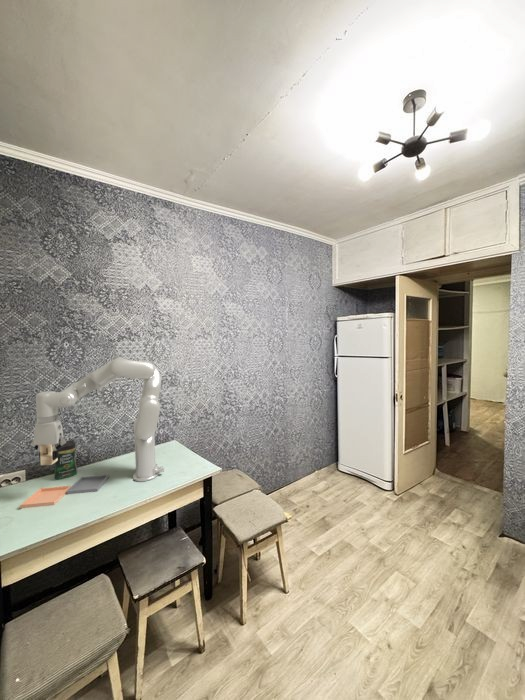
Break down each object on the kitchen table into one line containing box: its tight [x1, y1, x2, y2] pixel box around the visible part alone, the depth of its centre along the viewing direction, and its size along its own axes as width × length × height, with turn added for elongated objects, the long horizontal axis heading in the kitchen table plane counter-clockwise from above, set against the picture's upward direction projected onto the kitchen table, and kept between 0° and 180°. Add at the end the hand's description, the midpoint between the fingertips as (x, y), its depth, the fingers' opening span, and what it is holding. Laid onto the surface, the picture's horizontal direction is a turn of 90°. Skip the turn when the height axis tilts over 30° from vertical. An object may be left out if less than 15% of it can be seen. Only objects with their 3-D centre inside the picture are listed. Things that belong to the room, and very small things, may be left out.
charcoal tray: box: [66, 474, 110, 495], centre depth 134 cm, size 13×13×2 cm
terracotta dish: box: [19, 485, 72, 510], centre depth 124 cm, size 13×13×2 cm
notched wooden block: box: [39, 445, 58, 466], centre depth 124 cm, size 4×5×9 cm
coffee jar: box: [54, 439, 78, 481], centre depth 144 cm, size 10×8×19 cm
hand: (49, 458), depth 125 cm, fingers closed on notched wooden block, 4 cm apart
